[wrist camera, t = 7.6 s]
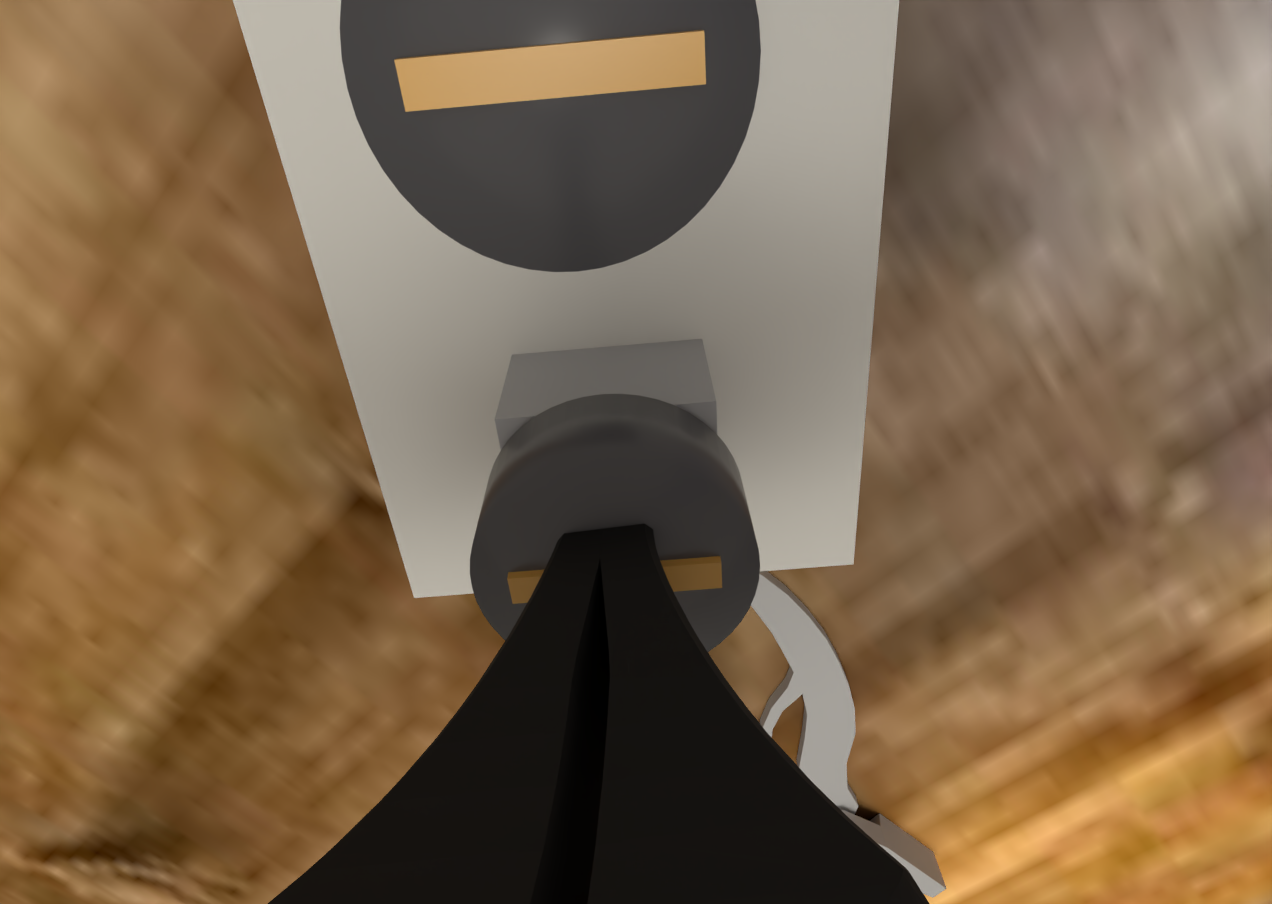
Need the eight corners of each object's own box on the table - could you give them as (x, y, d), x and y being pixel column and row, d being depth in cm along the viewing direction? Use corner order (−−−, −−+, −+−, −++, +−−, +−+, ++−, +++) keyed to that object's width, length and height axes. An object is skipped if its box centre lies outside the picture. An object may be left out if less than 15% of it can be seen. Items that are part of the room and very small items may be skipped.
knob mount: (957, -1312, 8) (1236, -2354, 4) (837, 524, 19) (885, 645, 16) (-60, -1177, 8) (-578, -2051, 4) (427, 555, 19) (387, 682, 16)
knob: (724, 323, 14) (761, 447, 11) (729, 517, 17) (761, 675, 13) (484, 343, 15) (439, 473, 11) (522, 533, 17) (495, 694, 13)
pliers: (745, 574, 18) (1040, 850, 24) (736, 532, 20) (1018, 803, 26) (458, 761, 22) (781, 964, 28) (467, 715, 23) (773, 917, 29)
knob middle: (713, -158, 11) (764, -223, 7) (721, 176, 13) (762, 260, 9) (392, -127, 11) (276, -174, 7) (456, 199, 13) (394, 291, 9)
